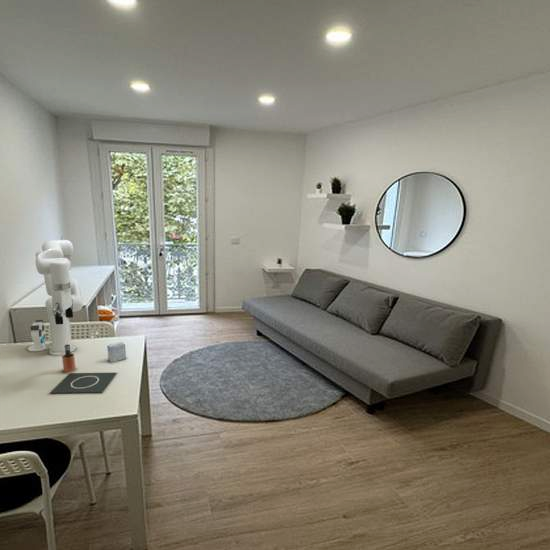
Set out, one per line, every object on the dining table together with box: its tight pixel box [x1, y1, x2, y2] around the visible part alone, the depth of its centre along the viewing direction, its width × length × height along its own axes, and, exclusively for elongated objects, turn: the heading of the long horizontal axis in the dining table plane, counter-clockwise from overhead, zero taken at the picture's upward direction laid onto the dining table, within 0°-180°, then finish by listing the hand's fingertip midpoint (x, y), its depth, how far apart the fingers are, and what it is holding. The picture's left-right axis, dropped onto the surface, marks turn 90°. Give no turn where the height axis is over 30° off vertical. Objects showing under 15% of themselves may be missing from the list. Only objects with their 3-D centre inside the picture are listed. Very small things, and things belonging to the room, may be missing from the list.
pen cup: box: [61, 353, 76, 373], centre depth 176 cm, size 5×5×8 cm
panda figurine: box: [27, 319, 51, 352], centre depth 201 cm, size 12×11×15 cm
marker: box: [64, 344, 72, 358], centre depth 175 cm, size 2×2×13 cm
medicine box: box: [106, 341, 127, 363], centre depth 189 cm, size 8×4×9 cm, turn 134°
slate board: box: [49, 372, 117, 395], centre depth 165 cm, size 22×18×1 cm
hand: (64, 320), depth 172 cm, fingers open, 9 cm apart
